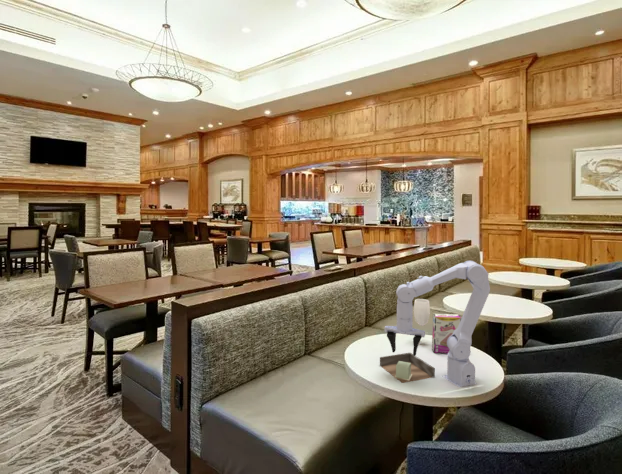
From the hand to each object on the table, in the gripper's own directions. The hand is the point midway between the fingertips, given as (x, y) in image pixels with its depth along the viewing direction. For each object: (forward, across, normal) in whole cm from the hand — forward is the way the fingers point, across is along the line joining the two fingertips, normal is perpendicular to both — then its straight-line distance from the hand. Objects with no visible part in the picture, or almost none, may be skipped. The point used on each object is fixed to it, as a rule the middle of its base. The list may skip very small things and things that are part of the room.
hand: (404, 353), depth 141 cm
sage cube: (+9, 0, 0) cm, 9 cm away
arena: (+9, 0, +4) cm, 10 cm away
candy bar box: (+10, +11, +33) cm, 36 cm away
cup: (+10, 0, +37) cm, 38 cm away
